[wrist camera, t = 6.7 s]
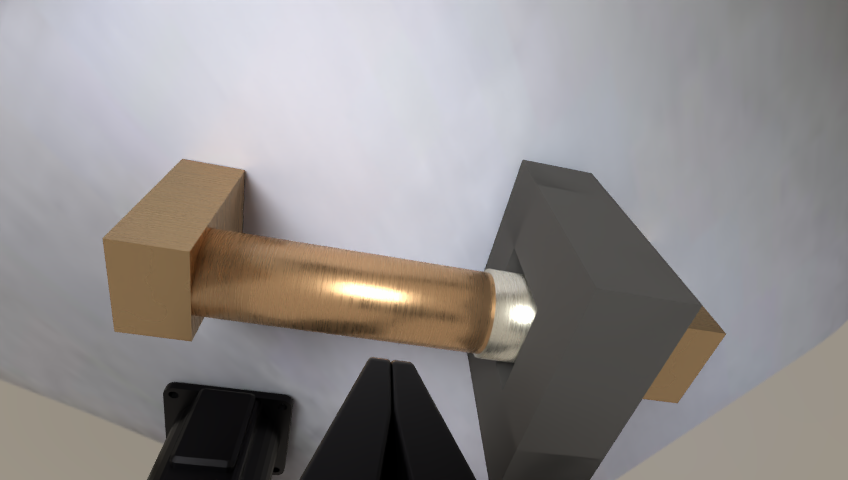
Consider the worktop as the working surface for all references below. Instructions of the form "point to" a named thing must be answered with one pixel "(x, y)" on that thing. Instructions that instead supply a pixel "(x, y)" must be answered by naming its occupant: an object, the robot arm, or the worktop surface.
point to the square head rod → (320, 284)
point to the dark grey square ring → (574, 328)
